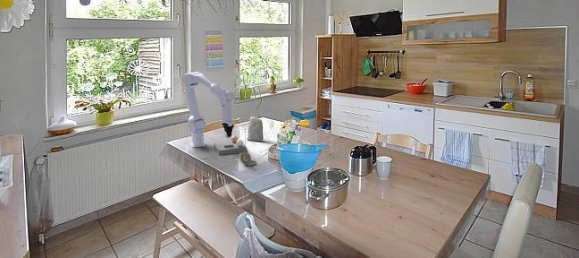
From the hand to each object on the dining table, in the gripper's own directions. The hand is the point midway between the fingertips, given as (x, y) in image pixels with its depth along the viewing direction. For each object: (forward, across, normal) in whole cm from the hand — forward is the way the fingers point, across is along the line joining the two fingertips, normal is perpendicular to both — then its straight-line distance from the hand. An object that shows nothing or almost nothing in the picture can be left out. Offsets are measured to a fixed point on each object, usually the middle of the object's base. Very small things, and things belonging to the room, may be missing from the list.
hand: (228, 135), depth 214 cm
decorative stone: (+9, +15, -20) cm, 27 cm away
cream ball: (+4, -2, -6) cm, 8 cm away
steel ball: (-1, 0, 0) cm, 1 cm away
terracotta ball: (+4, +8, -5) cm, 10 cm away
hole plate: (+9, +3, -1) cm, 9 cm away
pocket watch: (+9, -28, -4) cm, 30 cm away
